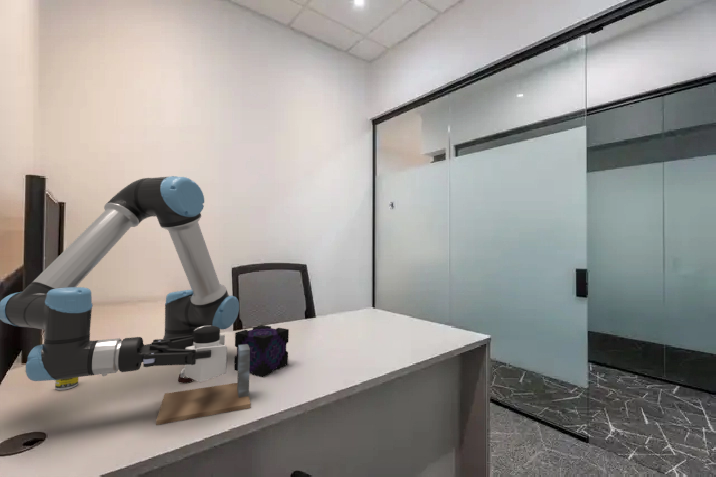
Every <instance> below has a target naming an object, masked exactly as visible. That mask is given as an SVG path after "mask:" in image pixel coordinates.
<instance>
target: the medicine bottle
mask: <svg viewBox="0 0 716 477" xmlns="http://www.w3.org/2000/svg"><path fill="white" fill-rule="evenodd" d="M220 335H221V329H220V328H219V327H216V326H202V327H199V328H197V329H195V330H194V341H193V345H194V346H190V347H186V349H191V350H196V351H197V348H201V347H212V346H222V344H219V342H220ZM227 357H228V346H227V345H226V357H222V358H213V359H204V360H196V364H195V365H184V368H185V373H184V375H185V376H184V377H185V378H191V379H194V380H193V381H196V382H199V383H202V382H206V381H208V380H212V379H214V378H217V377H219V376H222V375H225V374H226V373H227V359H228V358H227Z"/></svg>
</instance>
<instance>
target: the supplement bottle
mask: <svg viewBox="0 0 716 477" xmlns="http://www.w3.org/2000/svg"><path fill="white" fill-rule="evenodd" d="M79 378H80V377H75V378H68V379H60V380H55V383H54V384H55V386H54V388H55V390H57V391H64V390H69V389H72V388H75V387H77V386H78V385H79Z"/></svg>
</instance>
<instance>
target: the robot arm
mask: <svg viewBox="0 0 716 477" xmlns="http://www.w3.org/2000/svg"><path fill="white" fill-rule="evenodd" d="M204 204H205V195H204V193H203V190H202V188H201V187H200V186H199V184H197V182H196V181H194V180H192V179H190V177H189V178H188V177H187V176H186V177H185V176H174V175H171V176H160V177H143V178H139V179H138V180H135V181H132V182H131V183H130V184H127V185H126V186H125V187H124V188H122V189H121V190H120V191H118V192H117V193H116V194H114V195H113V197H112V198H110V200H108V202H107V203H105V204H104V206H103V208H104V211H103V212H102V213H101V214H100V215H99V216H98V217H97V218H96V219H95V220H93V222H92V223H91V224H90V225H89V226H88V227H87V228H85V230H83V232H82V233H80V235H79V236H77V238H76V239H75V240H73V242H71V243H70V244H69V245H68V247H66V248H65V249H64V250H63V251H62V252H61V254H60V255H58V256H57V257H56V258H55V259H54V260H53V261H52V262H51V263H50V264H49V265H48V266H47V267H46V268H45V269H44V270H43V271H42V272H41V273H40V274H39V275H38V276H37V277H36V278H35V279H34V280H33V281H32V282H31V283H30V284H29V285H27V287H26V288H25V289H23V291H20V292H14V293H10V294H9V295H7V296H5V297H4V298H2V299H1V300H0V321H1V322H3V323H5V324H7V325H8V324H9V325H12V326H14V327H20V328H31V329H32V328H34V329H39V330H44V332H43V333H44V334H43V344H38V345H35V346H34V347H33V348H32V349H31V350H30V352H29V353H28V354H27V355H28V356H27V361H26V363H25V374H26V377H27V378H28V380H30V381H32V382H44V381H56V380H60V379H68V378H75V377H79V378H80V377H81V378H82V377H90V376H91V377H92V376H98V375H99V376H100V375H101V377H106V376H108V374H115V373H117V372H121V373H126V372H134V371H135V372H136V371H138V370H140V368H141V366H142V364H143V366H142V367H143V368H150V367H160V366H185V365H195V364H196V360H204V359H213V358H222V357H226V346H227V344H226V345H225V342H226V339H225V338H226V334H220V342H219V344H222V346H212V347H201V348H197V351H196V350H191V349H186V347H190V346H194V345H193V341H194V330H195V329H197V328H199V327H202V326H216V327H219V328H220V330H227V329H229V328H231V326H232V325H233V324H234V323H235V322H236V320H237V318H238V315H239V312H240V311H239V310H240V303H239V302H240V301H239V300H238V298H237V297H236V296H234V295H230V294H229V293H228V288H227V287H226V285H224V284H221V283H220V281H219V278H218V275H217V271H216V269H215V267H214V264H213V261H212V258H211V256H210V255H211V254H210V253H209V250H208V247H207V243H206V240H205V239H204V235H203V232H202V229H201V227H200V223H199V221H200V219H202V213H201V212H202V211H203V210H204V206H205V205H204ZM151 217H156V218H157V221H158V223H159V226H160V228H161V229H165V230H167V231H168V233H169V235H170V238H171V241H172V243H173V245H174V248H175V251H176V253H177V255H178V258H179V261H180V264H181V266H182V269H183V271H184V273H185V277H186V279H187V281H188V283H189V287H190V288H191V289H186V290H185V289H184V290H177V291H172V292H169V293H168V294H167V295H166V297H165V304H164V335H163V338H159V339H158V338H157V339H153V340H152V342H151V343H148V344H144V339H143V337H141V336H134V337H125V338H123V339H122V338H107V339H99V340H96V339H95V340H91V325H92V324H91V323H92V311H93V310H92V309H93V305H94V304H93V302H92V301H93V300H92V290H91V289H90V288H88V287H84V286H83V287H81V286H80V287H79V285H80V284H81V283H82V281H83V280H84V279H85V278H86V277H87V276H88V275H89V273H91V272H92V271H93V269H94V268H95V267H96V266H97V265H98V264H99V263H100V262H101V261H102V260H103V258H105V256H106V255H107V254H108V253H109V252H110V251H111V250H112V248H113V247H114V246H116V244H117V243H118V242H119V241H120V240H121V238H123V236H124V235H126V233H127V232H128V231H129V230H130V229H131V228H135V227H137V226H139V224H140V223H141V222H142V221H144V220H145V219H147V218H151Z"/></svg>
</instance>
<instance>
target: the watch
mask: <svg viewBox="0 0 716 477" xmlns="http://www.w3.org/2000/svg"><path fill="white" fill-rule="evenodd" d="M184 373H185V367H183V368H182V369H181V371H180V373H179V374H178V375H179V376H178V379H177V382H178V383H180V384H188V383H187V382H189V383H191V382H192V380H193V381H195V380H194V379H191V378H189V377H186V376H185V375H184ZM183 377H184V378H183ZM190 381H191V382H190Z"/></svg>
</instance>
